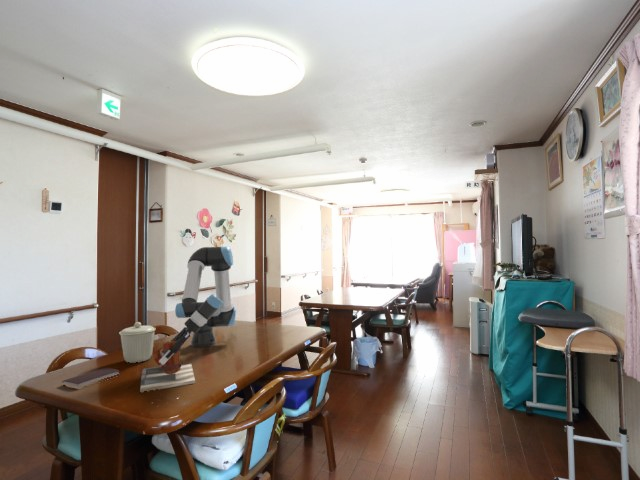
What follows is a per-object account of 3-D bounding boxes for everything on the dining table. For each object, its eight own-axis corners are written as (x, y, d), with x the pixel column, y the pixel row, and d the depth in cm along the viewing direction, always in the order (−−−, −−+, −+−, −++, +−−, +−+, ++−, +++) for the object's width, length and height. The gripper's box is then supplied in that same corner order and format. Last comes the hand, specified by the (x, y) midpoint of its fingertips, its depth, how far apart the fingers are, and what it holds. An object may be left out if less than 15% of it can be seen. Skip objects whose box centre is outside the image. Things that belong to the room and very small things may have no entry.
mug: (186, 369, 165) (184, 337, 167) (175, 375, 158) (172, 341, 159) (161, 370, 170) (159, 339, 171) (149, 375, 162) (146, 343, 163)
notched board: (143, 373, 171) (143, 365, 171) (191, 366, 180) (191, 358, 180) (140, 392, 147) (140, 383, 147) (195, 383, 156) (194, 374, 156)
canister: (143, 353, 205) (143, 317, 206) (163, 357, 196) (162, 320, 197) (112, 362, 190) (111, 324, 190) (132, 367, 181) (131, 326, 181)
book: (61, 386, 158) (61, 379, 158) (104, 372, 175) (104, 366, 175) (77, 391, 153) (77, 383, 153) (120, 376, 170) (120, 369, 170)
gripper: (203, 331, 160) (167, 372, 153) (199, 322, 181) (167, 357, 174) (191, 321, 158) (154, 361, 151) (188, 313, 179) (155, 348, 172)
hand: (161, 359), depth 163 cm, fingers closed on mug, 10 cm apart
